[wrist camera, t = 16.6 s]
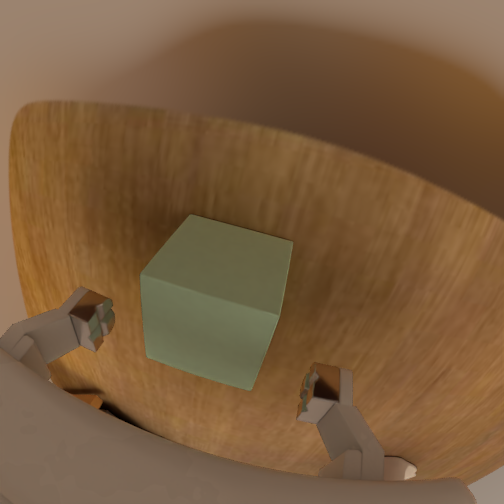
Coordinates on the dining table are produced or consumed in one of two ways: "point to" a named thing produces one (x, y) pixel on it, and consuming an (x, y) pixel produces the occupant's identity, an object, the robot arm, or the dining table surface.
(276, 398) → the dining table surface
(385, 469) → the candle
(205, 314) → the block
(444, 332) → the dining table surface
